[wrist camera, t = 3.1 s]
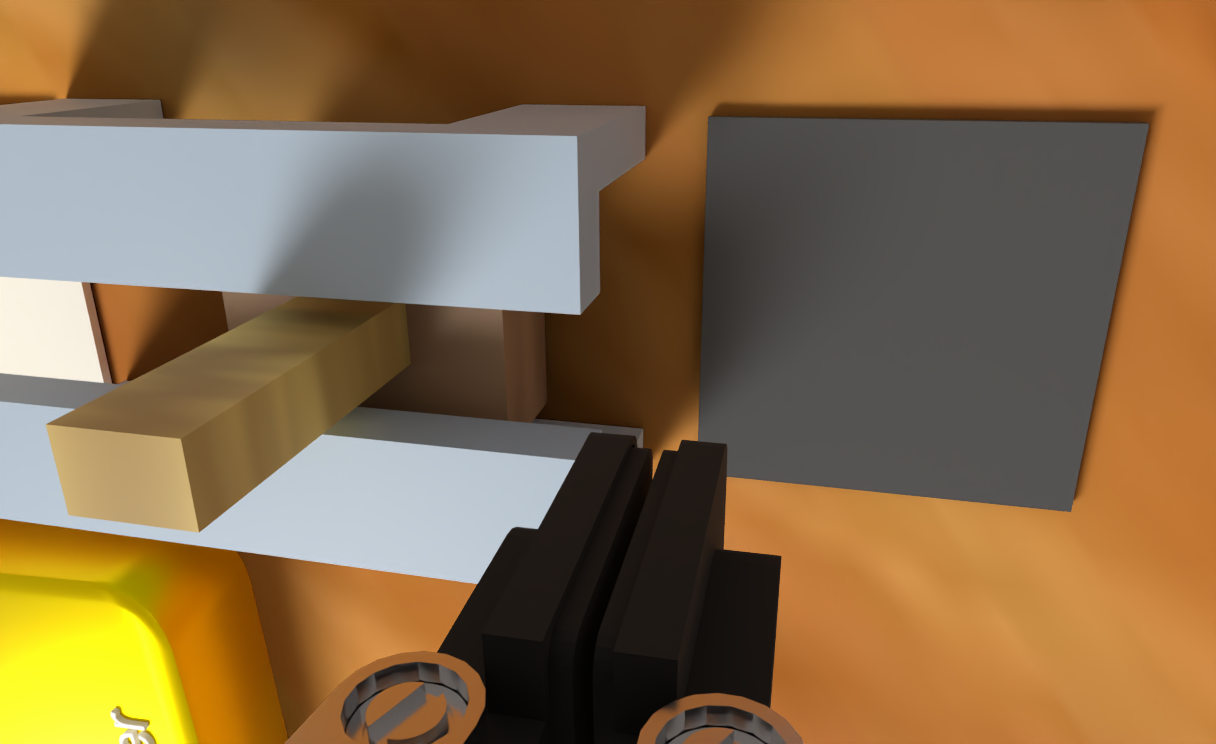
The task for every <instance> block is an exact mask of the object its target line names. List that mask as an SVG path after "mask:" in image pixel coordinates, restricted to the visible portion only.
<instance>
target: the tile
mask: <svg viewBox="0 0 1216 744" xmlns="http://www.w3.org/2000/svg"><path fill="white" fill-rule="evenodd" d="M0 373H4V374H15V375H26V376H36V377H47V378H58V379H68V380H79V381H89V382H100V383H111V384H112V381H111V376H110V372H109V367H108V363H107V358H106V354H105V349H104V345H103V340H102V336H101V331H100V327H99V322H98V318H97V313H96V309H95V304H94V300H93V295H92V291H91V286H90V283H88V282H73V281H58V280H43V279H28V278H12V277H0Z"/></svg>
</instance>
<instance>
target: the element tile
mask: <svg viewBox="0 0 1216 744" xmlns="http://www.w3.org/2000/svg"><path fill="white" fill-rule="evenodd" d="M287 740H288V737H287V733H286V728H285V724H284V720H283V716H282V711H281V707H280V703H279V699H278V695H277V690H276V686H275V682H274V678H273V674H272V669H271V665H270V661H269V657H268V652H267V648H266V644H265V640H264V636H263V631H262V627H261V623H260V619H259V614H258V610H257V606H256V602H255V598H254V593H253V589H252V585H251V581H250V577H249V575H248V572H247V570H246V567H245V565H244V562H243V561H242V559H241V557H240V556H239V554H238V553H237V551H234V550H227V549H219V548H212V547H205V546H197V545H190V544H183V543H176V542H168V541H161V540H154V539H146V538H139V537H132V536H125V535H117V534H110V533H103V532H95V531H88V530H81V529H73V528H66V527H59V526H52V525H44V524H37V523H30V522H22V521H15V520H8V519H1V518H0V744H284V743H285V742H286V741H287Z"/></svg>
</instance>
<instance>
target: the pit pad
mask: <svg viewBox="0 0 1216 744" xmlns="http://www.w3.org/2000/svg"><path fill="white" fill-rule="evenodd" d="M1148 128H1149V124H1148V123H1145V122H1084V121H1017V120H950V119H884V118H817V117H750V116H709V117H708V143H707V175H706V207H705V238H704V270H703V302H702V334H701V366H700V398H699V430H698V441H701V442H712V443H724V444H727V477H736V478H746V479H756V480H766V481H775V482H785V483H795V484H805V485H814V486H824V487H834V488H844V489H853V490H863V491H873V492H882V493H892V494H902V495H912V496H921V497H931V498H941V499H951V500H960V501H970V502H980V503H990V504H999V505H1009V506H1019V507H1029V508H1038V509H1048V510H1058V511H1068V512H1071V509H1072V504H1073V499H1074V494H1075V489H1076V484H1077V479H1078V475H1079V470H1080V465H1081V460H1082V455H1083V450H1084V445H1085V440H1086V435H1087V430H1088V425H1089V420H1090V415H1091V410H1092V405H1093V400H1094V395H1095V390H1096V385H1097V380H1098V375H1099V371H1100V366H1101V361H1102V356H1103V351H1104V346H1105V341H1106V336H1107V331H1108V326H1109V321H1110V316H1111V311H1112V306H1113V301H1114V296H1115V291H1116V286H1117V281H1118V276H1119V271H1120V267H1121V262H1122V257H1123V252H1124V247H1125V242H1126V237H1127V232H1128V227H1129V222H1130V217H1131V212H1132V207H1133V202H1134V197H1135V192H1136V187H1137V182H1138V177H1139V172H1140V167H1141V163H1142V158H1143V153H1144V148H1145V143H1146V138H1147V133H1148Z"/></svg>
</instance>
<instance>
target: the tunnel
mask: <svg viewBox="0 0 1216 744" xmlns="http://www.w3.org/2000/svg"><path fill="white" fill-rule="evenodd" d="M645 126H646V106H608V105H530V104H522V105H518V106H514V107H510V108H507V109H503V110H499V111H495V112H492V113H488V114H484V115H480V116H476V117H473V118H469V119H465V120H461V121H457V122H454V123H450V124H418V123H363V122H308V121H253V120H198V119H164V118H163V112H162V107H161V101H160V100H139V99H55V100H45V101H35V102H25V103H15V104H6V105H0V277H12V278H28V279H43V280H58V281H73V282H88V283H104V284H119V285H134V286H149V287H165V288H180V289H195V290H210V291H226V292H241V293H256V294H271V295H286V296H302V297H317V298H332V299H347V300H363V301H378V302H393V303H408V304H423V305H439V306H454V307H469V308H484V309H500V310H515V311H530V312H545V313H561V314H576V315H581V314H582V313H583V311H584V310H585V309H586V308H587V307H588V306H589V305H590V303H591V302H592V301H593V300H594V299H595V298H596V297H597V296H598V294H599V293H600V233H599V191H600V190H602V189H603V188H605V187H606V186H608V185H609V184H610V183H612V182H613V181H615V180H616V179H617V178H619V177H620V176H622V175H623V174H624V173H626V172H627V171H629V170H630V169H632V168H633V167H634V166H636V165H637V164H639V163H640V162H641V161H643V160H644V159H645ZM128 382H130V381H123V382H121V383H119V384H111V383H100V382H89V381H79V380H68V379H58V378H47V377H36V376H26V375H15V374H4V373H0V518H1V519H8V520H15V521H22V522H30V523H37V524H44V525H52V526H59V527H66V528H73V529H81V530H88V531H95V532H103V533H110V534H117V535H125V536H132V537H139V538H146V539H154V540H161V541H168V542H176V543H183V544H190V545H197V546H205V547H212V548H219V549H227V550H234V551H241V552H249V553H256V554H263V555H270V556H278V557H285V558H292V559H300V560H307V561H314V562H321V563H329V564H336V565H343V566H351V567H358V568H365V569H372V570H380V571H387V572H394V573H402V574H409V575H416V576H424V577H431V578H438V579H445V580H453V581H460V582H467V583H475V584H478V582H479V581H480V579H481V577H482V576H483V574H484V572H485V571H486V569H487V567H488V566H489V564H490V562H491V561H492V559H493V557H494V555H495V554H496V552H497V550H498V549H499V547H500V545H501V544H502V542H503V540H504V539H505V537H506V535H507V534H508V533H509V531H510V530H511V529H512V528H514V527H524V528H533V529H538V528H539V526H540V524H541V522H542V520H543V519H544V517H545V515H546V513H547V511H548V509H549V508H550V506H551V504H552V502H553V500H554V498H555V496H556V495H557V493H558V491H559V489H560V487H561V485H562V483H563V482H564V480H565V478H566V476H567V474H568V472H569V471H570V469H571V467H572V465H573V463H574V461H575V459H576V458H577V456H578V454H579V452H580V450H581V448H582V446H583V445H584V443H585V441H586V439H587V437H588V435H589V434H590V433H591V432H597V433H609V434H620V435H632V436H636V439H637V445H638V448H643V429H641V428H630V427H620V426H609V425H598V424H587V423H577V422H566V421H555V420H544V419H534V420H533V421H532V423H525V422H514V421H504V420H493V419H482V418H472V417H461V416H450V415H440V414H429V413H419V412H408V411H397V410H387V409H376V408H366V407H356V408H355V409H353V410H352V411H351V412H350V413H348V414H347V415H346V416H345V417H343V418H342V419H341V420H340V421H338V422H337V423H336V424H335V425H333V426H332V427H331V428H330V429H328V430H327V431H326V432H325V433H323V434H322V435H321V436H320V437H318V438H317V439H316V440H315V441H313V442H312V443H311V444H310V445H308V446H307V447H306V448H305V449H303V450H302V451H301V452H300V453H298V454H297V455H296V456H295V457H293V458H292V459H291V460H290V461H288V462H287V463H286V464H285V465H283V466H282V467H281V468H279V469H278V470H277V471H276V472H274V473H273V474H272V475H271V476H269V477H268V478H267V479H266V480H264V481H263V482H262V483H261V484H259V485H258V486H257V487H256V488H254V489H253V490H252V491H251V492H249V493H248V494H247V495H246V496H244V497H243V498H242V499H241V500H239V501H238V502H237V503H236V504H234V505H233V506H232V507H231V508H229V509H228V510H227V511H226V512H224V513H223V514H222V515H221V516H219V517H218V518H217V519H216V520H214V521H213V522H212V523H211V524H209V525H208V526H207V527H206V528H204V529H203V530H202V531H201V532H199V533H198V532H190V531H183V530H175V529H168V528H160V527H153V526H145V525H138V524H131V523H123V522H116V521H108V520H101V519H93V518H86V517H78V516H71V515H68V511H67V507H66V503H65V499H64V495H63V491H62V487H61V483H60V479H59V475H58V471H57V468H56V464H55V460H54V456H53V452H52V448H51V444H50V440H49V436H48V432H47V428H46V424H47V423H49V422H51V421H53V420H55V419H57V418H59V417H61V416H63V415H65V414H67V413H69V412H71V411H73V410H75V409H77V408H79V407H81V406H83V405H85V404H87V403H89V402H90V401H92V400H94V399H96V398H98V397H100V396H102V395H104V394H106V393H108V392H110V391H112V390H114V389H116V388H118V387H120V386H122V385H124V384H126V383H128Z"/></svg>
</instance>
